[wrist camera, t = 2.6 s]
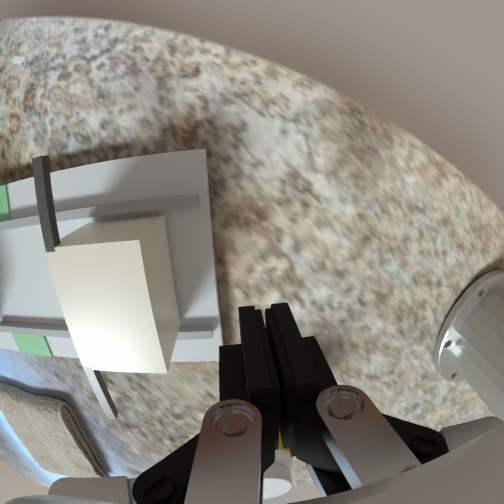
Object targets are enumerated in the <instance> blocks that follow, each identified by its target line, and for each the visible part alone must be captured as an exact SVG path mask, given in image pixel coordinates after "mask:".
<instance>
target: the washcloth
mask: <svg viewBox="0 0 504 504" xmlns="http://www.w3.org/2000/svg"><path fill="white" fill-rule="evenodd" d="M0 409H1V411H2V412H3V414H4V416H5V417H6V419H7V420H8V423H9V424H10V426H11V427H12V428H13V430H14V432H15V434H17V436H18V437H19V439H20V440H21V441H22V444H23V445H24V446H25V447H26V448H27V449H28V451H29V452H30V453H31V455H32V456H33V458H34V459H35V460H36V462H37V463H38V464H39V465H40V466H41V467H42V468H43V469H45V470H47V471H49V472H52V473H58V474H61V475H65V476H68V477H73V478H90V477H108V476H107V472H106V470H105V469H104V466H103V465H102V463H101V461H100V460H99V458H98V456H97V455H96V453H95V451H94V450H93V448H92V446H91V444H90V443H89V441H88V439H87V438H86V436H85V434H84V432H83V431H82V429H81V427H80V425H79V423H78V421H77V419H76V417H75V415H74V413H73V411H72V409H71V407H70V406H69V405H68V404H67V403H64V402H63V401H61V400H59V399H55V398H52V397H46V396H44V395H41V396H39V395H35V394H33V393H30V392H26V391H24V390H23V389H21V388H17V387H14V386H10V385H8V384H4V383H3V382H0Z"/></svg>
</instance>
